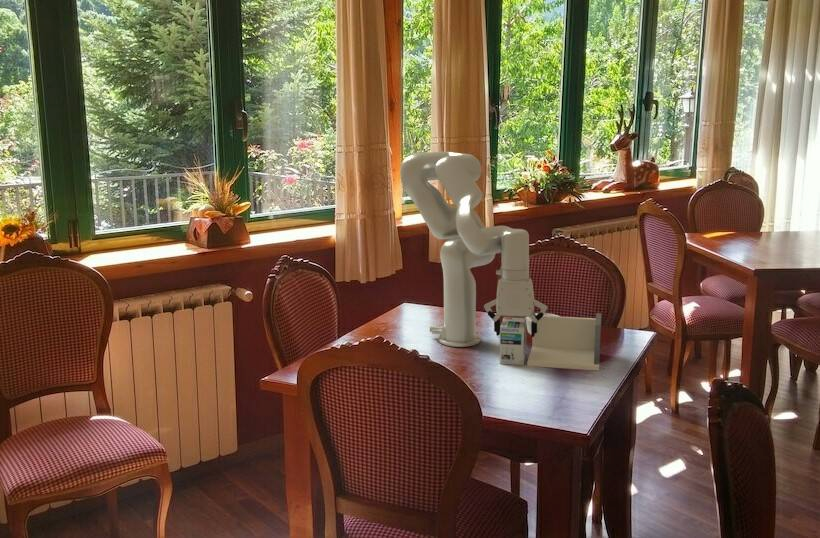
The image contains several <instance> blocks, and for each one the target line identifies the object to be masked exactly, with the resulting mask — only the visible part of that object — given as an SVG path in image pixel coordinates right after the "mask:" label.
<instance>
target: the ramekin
mask: <svg viewBox="0 0 820 538" xmlns="http://www.w3.org/2000/svg"><path fill="white" fill-rule="evenodd" d="M534 313H535V314H536V315H537V314H539V313H540V312H538V313H537V312H534ZM543 316H559V317H561V316H560V315H557V314H554V313H547V312H545V313H544V315H543ZM525 318H526V331H527V333H528V334H529V335H530V336H531V323H532V320H531V318H530V317H525Z"/></svg>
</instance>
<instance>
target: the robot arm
mask: <svg viewBox="0 0 820 538" xmlns="http://www.w3.org/2000/svg"><path fill="white" fill-rule="evenodd" d="M399 171H400V182H401V184H402V188H403V189H404V191H405V193H406V194H407V195H408V197H409V198H410V200H411V201H412V202H413V203H414V205H415V207H416V208H417V210H418V211H419V213H420V215H421V217H422V219H423V220H424V222H425V224H426V225H427V227H428V229H429V231H430V233H431V234H432V236H433V237H434V238H436V239H437V240H441V241H442V240H445V242H444V243H443V244H442V245H441V247H440V252H439V255H440V256H439V258H440V263H441V268H442V274H443V275H442V277H443V278H442V279H443V325H440V326H438V325H430V326H429V332H430V333H431V334H433V335H438V341H439V343H440V344H442V345H444V346H447V347H455V348H464V347H465V348H466V347H471V346H472V347H473V346H476V345H478V344H480V343H481V339H482V338H481V336H480V335H479V334H477V333H476V324H477V323H476V316H477V314H476V313H477V312H476V311H477V310H476V309H477V305H476V304H477V303H476V302H477V299H476V298H477V290H476V288H477V285H476V284H477V283H476V280H475V276H474V275H473V273H472V271H471V269H472V268H477V267H481V266H485V265H488V264H490V263H492V261H493V260H494V259H495V258H496V257H495V256H496V254H500V255H501V256H500V258H501V259H500V260H501V263H500V264H501V265H500V267H501V268H500V269H496V270H495V275H496V276H500V278H499V279H498V282H497V287H496V298H495V299H493V300H491V301H489V302H487V303H485V304H484V305H483V308H484V310H485V311H486V313H487V315H488V316H489V318H490V319H491V320H492V321H493V326H494V327H493V330H494V333H496V334H495V336H497V337H498V336H500V326H501V320H500V319H501V317H512V318H526V317H530V318H531V320H532V323H531V335H530V336H531V337H534V335H535V333H537V321H539V320H540V319H541V318H542V317H543V315H544V313H547V310H548V306H547V305H546V304H544V303H542V302H540V301H538V300H537V299H535V296H534V295H535V293H534V285H533V281H532V278H531V277H530V235H529V232H528V231H527V230H525V229H523V228H512V227H510V226H507V225H495V226H488V227H486V226H485V225H484V223H483V221H482V220H481V218H480V216H479V215H478V213H477V212H476V211H475V210H474V209H475V207H477V206H478V205H480V203H481V201H482V199H483V192H482V190H481V189H480V187H479V186H478V184H477V183H476V181H478V180H479V179H480V177H481V175H482V165H481V163H480V161H479V159H478V158H477V157H476V156H475V155H473V154H470V153H462V152H461V153H460V152H453V151H445V150H444V151H432V152H431V151H429V152H428V151H427V152H419V153H414V154H410V155H408V156H407V157H405V158H404V160H402V163H401V164H400V169H399ZM429 181H439V183H440V184H441V186H442V187H443V189H444V190H445V192H446V193H447V195H448V197H449V198H450V200H451V202H452V203H453V204H454V205H449V202H447V201H446V199H445V197H444V196H443V195H444V194H442V192H441V191H440V190H439V189H438V188H437V187H435V186H434V185H433V184H431V183H430V182H429ZM494 306H495V307H496V308H495V309H496V313H495V312H494V311H493V310H492V307H494ZM535 307H536V308H539V309H540V311H539V312H538V313H539V314H537V315H536V314H535V313H536V312H534V311H535Z"/></svg>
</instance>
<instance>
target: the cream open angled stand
mask: <svg viewBox="0 0 820 538" xmlns="http://www.w3.org/2000/svg"><path fill="white" fill-rule="evenodd" d="M559 316H560V315H558V316H543V317H542V318H541V319H540V320H539V321H537V333H535V335H534V337H532V336H531V337H532V339H531V340H532V343H531V344H532V345H531V349H530V353H529V355H528V359H527V366H528V367H541V368H557V369H570V370H581V371H582V370H584V371H585V370H586V371H600V364H599V365H598V364H594V350H595V325H596V317H595V318H593V317H577V316H576V317H575V316H560V317H559Z"/></svg>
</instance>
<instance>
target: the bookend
mask: <svg viewBox="0 0 820 538" xmlns="http://www.w3.org/2000/svg"><path fill="white" fill-rule="evenodd" d="M595 318H596V325H595V350H594V364H598V365H599V366H600V353H601V333H602V332H601V331H602V329H601V328H602V313H601V312H600V313H599V312H596V314H595Z"/></svg>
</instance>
